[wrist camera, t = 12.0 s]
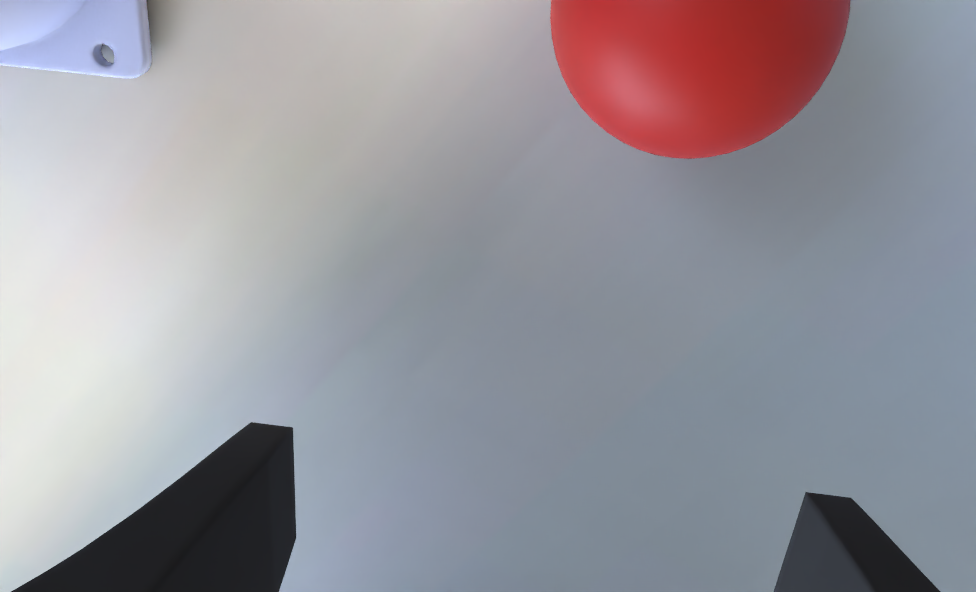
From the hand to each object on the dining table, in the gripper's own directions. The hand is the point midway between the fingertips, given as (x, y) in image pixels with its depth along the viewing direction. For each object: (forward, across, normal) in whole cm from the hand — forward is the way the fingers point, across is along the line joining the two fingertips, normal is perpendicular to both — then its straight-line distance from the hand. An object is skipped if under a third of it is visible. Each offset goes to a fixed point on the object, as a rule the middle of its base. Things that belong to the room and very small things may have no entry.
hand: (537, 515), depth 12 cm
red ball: (+10, -2, -6) cm, 12 cm away
